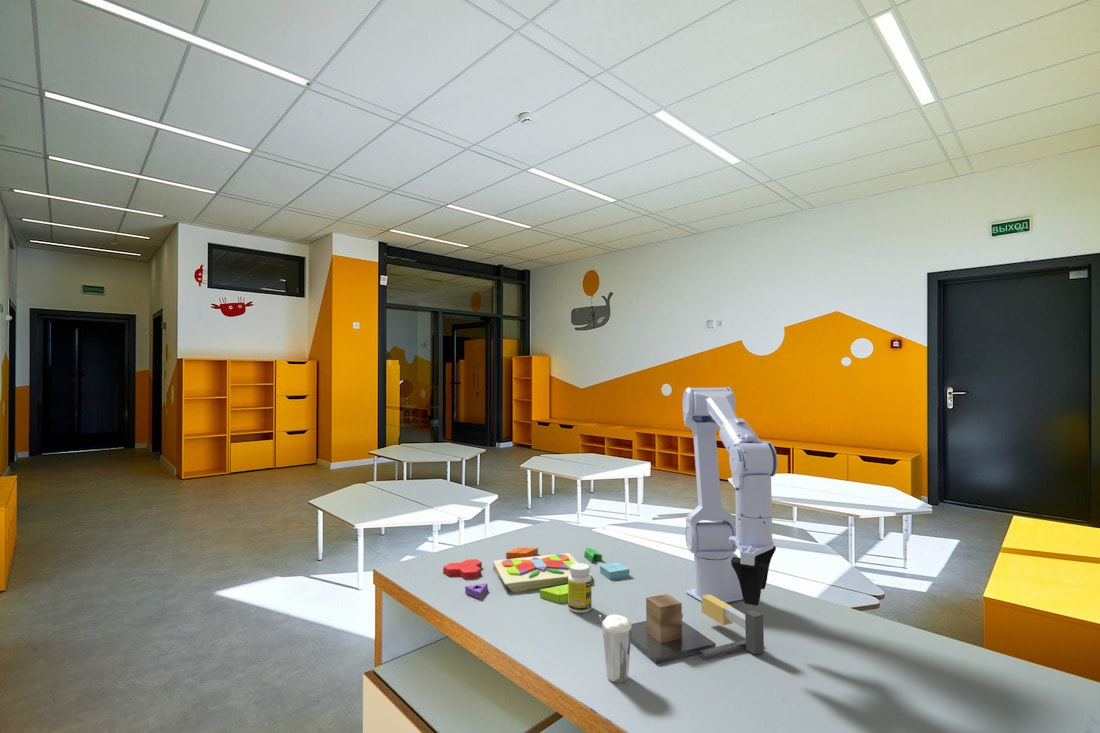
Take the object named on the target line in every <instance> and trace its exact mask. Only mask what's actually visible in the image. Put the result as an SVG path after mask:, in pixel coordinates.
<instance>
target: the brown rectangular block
mask: <svg viewBox="0 0 1100 733" xmlns="http://www.w3.org/2000/svg"><path fill="white" fill-rule="evenodd" d="M645 604H646V605H645V611H646V612H645V613H646V616H645V618H646V619H645V621H646V625H647V633H649V634H650V635H651V636H652V637H654V638H655V639H656V640H657V641H659V642H660V643H663V642H667V641H672V640H676V639H681V638H682V621H683V617H684V614H683V610H682V608H683V606H682V604H683V603H682V601H679V600H678V599H676V598H674V597H672V596H671V595H670V594H668V593H664V594H660V595H654V596H650V597H645Z"/></svg>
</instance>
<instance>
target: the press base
mask: <svg viewBox="0 0 1100 733" xmlns="http://www.w3.org/2000/svg"><path fill="white" fill-rule="evenodd" d="M631 624H632V630H631V641H630V644H632V645H633V646H634V647H635V648H637V649H638V650H639V652H641V653H642V654H644V656H646V657H647V658H648V659H649V660H650V661H651V662H653V664H655V665H657V664H662V663H666V662H669V661H673V660H678V659H682V658H686V657H690V656H694V655H699V657H700V658H701V659H702V660H708V659H712V658H716V657H721V656H725V655H729V654H732V653H735V652H736V653H737V652H740V651H744V650H747V649H746V639H743V640H739V641H734V642H731V643H727V644H722V645H717V646H716V642H715V641H713V640H711V639H710V638H708V637H707V636H706V635H704V634H703V633H701V632H699V631H698V630H697V629H695V628H693V627H692V626H690V625H689V624H688V623H686V622H684V621H683V620H682V638H681V639H676V640H672V641H667V642H663V643H660V642H659V641H657V640H656V639H655V638H654V637H652V636H651V635H650V634H649V633H647V625H646V620H644V621H640V622H639V621H638V622H634V623H631Z"/></svg>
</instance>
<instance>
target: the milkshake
mask: <svg viewBox="0 0 1100 733" xmlns="http://www.w3.org/2000/svg"><path fill="white" fill-rule="evenodd" d="M598 617H599V620H600V622H601V628H602V635H603V644H604V646H603V647H604V656H605V668H606V669H605V670H606V677H607V680H608V681H609V682H612V683H614V684H615V683H616V684H622V683H626V682H627V681H628V679H629V671H630V670H629V669H630V657H631V656H630V655H631V642H630V641H631V630H632V624H633V623H632V622H631V621H630V619H628V617H626V616H622V615H621V614H620V615H619V614H610V615H607V616H606V617H605V618H604V619H602V618H601V615H598Z"/></svg>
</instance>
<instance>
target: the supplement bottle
mask: <svg viewBox="0 0 1100 733" xmlns="http://www.w3.org/2000/svg"><path fill="white" fill-rule="evenodd" d="M590 567H591V566H590V565H589V564H587V563H582V562H581V563H580V562H578V563H576V564H572V565H570V575H569V577H568V583H567V584H568V601H567V604H568V605H567V607H568V610H569V611H571V612H573V613H578V614H583V613H588V612H590V611H591V610H592V607H593V606H592V603H593V602H592V600H593V599H592V579H591V576H590V575H589V574H591V570H590Z"/></svg>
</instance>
